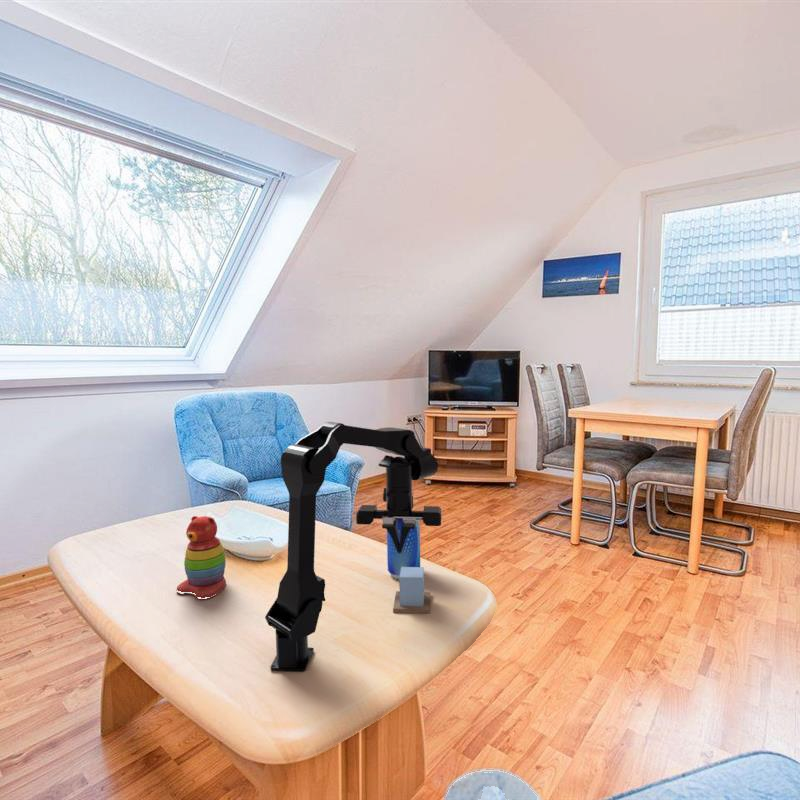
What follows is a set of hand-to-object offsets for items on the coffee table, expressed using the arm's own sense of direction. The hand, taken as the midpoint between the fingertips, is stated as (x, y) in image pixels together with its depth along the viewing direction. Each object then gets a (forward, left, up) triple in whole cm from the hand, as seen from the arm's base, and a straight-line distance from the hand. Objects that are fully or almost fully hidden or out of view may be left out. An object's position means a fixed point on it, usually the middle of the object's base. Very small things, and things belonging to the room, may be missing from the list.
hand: (399, 552), depth 112 cm
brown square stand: (-1, -3, -12) cm, 12 cm away
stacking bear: (+4, +48, -12) cm, 50 cm away
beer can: (+14, 0, -12) cm, 19 cm away
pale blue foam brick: (0, -3, -11) cm, 11 cm away
